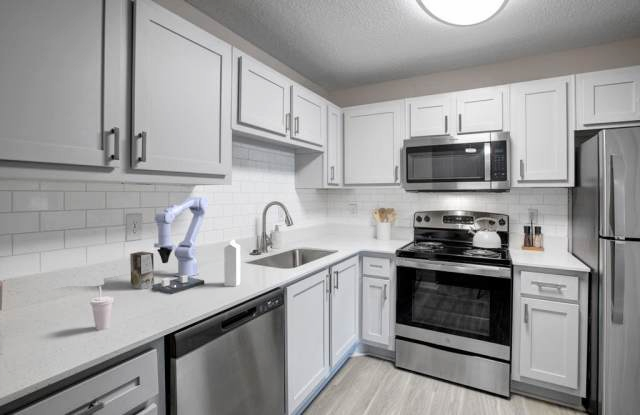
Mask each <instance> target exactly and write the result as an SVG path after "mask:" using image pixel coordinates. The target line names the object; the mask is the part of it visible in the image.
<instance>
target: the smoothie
mask: <svg viewBox="0 0 640 415" xmlns="http://www.w3.org/2000/svg"><path fill="white" fill-rule="evenodd" d="M98 293H99V294H98V296H97V297H94V298H92V299H91V300H90V306H91V308H92V314H93V319H94V324H95V330H96V331H102V330H107V329H109V328H110V324H111V315H112V308H113V307H112V306H113V302H114V297H113V296H111V295H110V296H106V295H105V296H102V285H99V287H98Z"/></svg>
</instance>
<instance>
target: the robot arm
mask: <svg viewBox="0 0 640 415" xmlns="http://www.w3.org/2000/svg"><path fill="white" fill-rule="evenodd" d="M208 207H209V204H208V200H207V198H206V197H205V196H203V197H199V196H198V197H194V196H193V197H192V196H190V197H187V198H186V200H184V201H183V202H181V203H180V204H179V205H178V204H172V205H171V206H170V207H169V208H165V209H164V210H163V211H158V212H157V213H156V215H155V216H154V220H155V222H156V224H157V225H156V226H157V228H158V229H157V230H158V232H157V235H158V240H157V242H155V243H153V244H154V245H153V247H154V248H158V249H157V250H156V251H157V252H158V254H159V256H160V260H161V263H162V264H168V262H169V259H170V257H171V256H170V255H171V254H172V252H173V251H174V257H175V258H176V260H177V267H178V268H177V272H178V273H177V274H174V277H178V278H180V276H183V275H187V276H188V277H192V276H195V275H196V276H197V275H199V272H198V260H197V259H196V258H195V257H196V254H197V248H198V246H197V245H196V243H195V242H196V239H197V236H198V234H199V231H200V228H201V227H202V223H203V220H204V217H205V215H206V211H207V209H208ZM187 209H189V210H190V213H191V214H192V215H193V216H192V219H191V222H190V224H189V226H188V229H187V231H186V234H185V237H184V239H183V240H182V241H180V242H179V243H178V245H174V244H172V223H173V222H174V220H175V219H176V218H177V217H179V216H181V215H182V214H183V211H186V210H187Z"/></svg>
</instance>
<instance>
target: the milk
mask: <svg viewBox="0 0 640 415" xmlns="http://www.w3.org/2000/svg"><path fill="white" fill-rule="evenodd" d="M223 250H224V252H223V253H224V274H223V277H224V287H238V286H239V285H240V284H241V245H240V244H238V243H236V240H235V239H232V240H231V241H230V242H229V244H228V245H227V246H224V249H223Z"/></svg>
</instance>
